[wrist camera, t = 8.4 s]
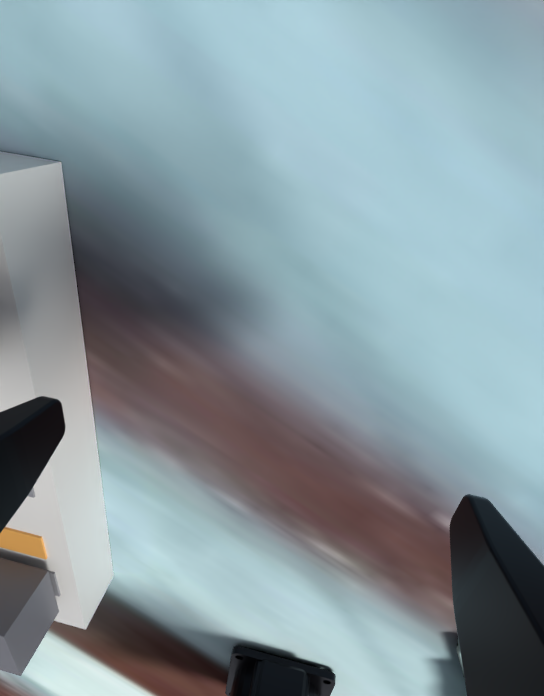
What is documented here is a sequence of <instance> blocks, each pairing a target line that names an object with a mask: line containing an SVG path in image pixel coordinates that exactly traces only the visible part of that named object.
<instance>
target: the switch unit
mask: <svg viewBox="0 0 544 696" xmlns="http://www.w3.org/2000/svg"><path fill="white" fill-rule="evenodd" d="M40 396H46V397H50V398H55V399H58V400H59V401H60V402H61V403H62V408H63V414H64V420H65V426H66V427H65V433H64V436H63V438H62V440H61V441H60V443H59V445H58V446H57V448H56V450H55V451H54V453H53V455H52V456H51V458H50V460H49V461H48V463H47V465H46V467H45V468H44V470H43V472H42V473H41V475H40V477H39V478H38V480H37V482H36V483H35V485H34V487H33V488H32V490H31V491H30V493H29V495H28V496H27V497H26V499H25V500H24V502H23V503H22V505H21V506H20V507H19V509H18V510H17V511H16V513H15V514H14V515H13V517H12V518H11V519H10V521H9V522H8V524H7V525H6V526H5V528H4V529H3V530H2V532H1V533H0V558H3V559H7V560H10V561H14V562H18V563H21V564H25V565H29V566H32V567H36V568H40V569H43V570H47V571H48V572H49V576H50V579H51V583H52V587H53V591H54V594H55V598H56V602H57V605H58V609H59V613H58V614H57V616H56V618H55V619H54V621H57V622H61V623H64V624H68V625H71V626H75V627H78V628H82V629H85V630H86V628H87V626H88V624H89V622H90V621H91V619H92V617H93V615H94V613H95V611H96V609H97V607H98V605H99V603H100V602H101V600H102V598H103V596H104V594H105V592H106V590H107V588H108V586H109V584H110V583H111V581H112V579H113V577H114V573H113V565H112V557H111V550H110V542H109V534H108V526H107V518H106V510H105V502H104V495H103V487H102V479H101V471H100V463H99V455H98V447H97V439H96V432H95V424H94V416H93V408H92V400H91V392H90V384H89V377H88V369H87V361H86V353H85V345H84V337H83V329H82V322H81V314H80V306H79V298H78V290H77V282H76V274H75V267H74V259H73V251H72V243H71V235H70V227H69V219H68V212H67V204H66V196H65V188H64V180H63V172H62V164H61V162H59V161H54V160H48V159H42V158H36V157H30V156H25V155H19V154H13V153H7V152H2V151H0V412H2V411H5V410H7V409H9V408H12V407H14V406H17V405H19V404H22V403H24V402H27V401H29V400H32V399H34V398H37V397H40Z"/></svg>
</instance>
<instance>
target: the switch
mask: <svg viewBox="0 0 544 696" xmlns="http://www.w3.org/2000/svg"><path fill="white" fill-rule="evenodd" d="M58 613H59V609H58V605H57V602H56V598H55V594H54V591H53V587H52V583H51V579H50V576H49V572H48V571H47V570H43V569H40V568H36V567H32V566H29V565H25V564H21V563H18V562H14V561H10V560H7V559H3V558H0V670H3V671H6V672H9V673H13V674H16V675H19V676H21V675H22V673H23V671H24V670H25V668H26V666H27V665H28V663H29V661H30V659H31V658H32V656H33V654H34V653H35V651H36V649H37V648H38V646H39V644H40V643H41V641H42V639H43V638H44V636H45V634H46V633H47V631H48V629H49V628H50V626H51V624H52V623H53V621H54V619H55V618H56V616H57V614H58Z"/></svg>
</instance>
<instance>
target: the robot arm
mask: <svg viewBox="0 0 544 696" xmlns="http://www.w3.org/2000/svg"><path fill="white" fill-rule="evenodd" d="M65 427H66V426H65V420H64V414H63V408H62V403H61V402H60V401H59V400H58V399H55V398H50V397H46V396H40V397H37V398H34V399H32V400H29V401H27V402H24V403H22V404H19V405H17V406H14V407H12V408H9V409H7V410H5V411H2V412H0V533H1V532H2V530H3V529H4V528H5V526H6V525H7V524H8V522H9V521H10V519H11V518H12V517H13V515H14V514H15V513H16V511H17V510H18V509H19V507H20V506H21V505H22V503H23V502H24V500H25V499H26V497H27V496H28V495H29V493H30V491H31V490H32V488H33V487H34V485H35V483H36V482H37V480H38V478H39V477H40V475H41V473H42V472H43V470H44V468H45V467H46V465H47V463H48V461H49V460H50V458H51V456H52V455H53V453H54V451H55V450H56V448H57V446H58V445H59V443H60V441H61V440H62V438H63V436H64V433H65ZM450 548H451V570H452V592H453V605H454V613H455V620H456V626H457V633H458V639H459V645H460V652H461V658H462V665H463V671H464V678H465V684H466V690H467V696H544V565H543V564H542V563H541V562H540V560H539V559H538V558H537V557H536V556H535V555H534V553H533V552H532V551H531V550H530V549H529V547H528V546H527V545H526V544H525V543H524V541H523V540H522V539H521V538H520V537H519V535H518V534H517V533H516V532H515V531H514V529H513V528H512V527H511V526H510V525H509V524H508V522H507V521H506V520H505V519H504V518H503V516H502V515H501V514H500V513H499V512H498V510H497V509H496V508H495V507H494V506H493V504H492V503H491V502H490V501H489V500H488V499H486V498H483V497H479V496H475V495H470V494H467V495H465V496H464V497H463V499H462V500H461V502H460V504H459V506H458V508H457V509H456V511H455V513H454V515H453V517H452V519H451V522H450ZM334 686H335V674H334V673H332V672H330V671H327V670H324V669H320V668H316V667H313V666H309V665H305V664H302V663H298V662H295V661H291V660H287V659H284V658H280V657H277V656H273V655H269V654H266V653H262V652H259V651H255V650H251V649H248V648H244V647H240V646H235V647H234V648H233V651H232V655H231V661H230V667H229V673H228V680H227V686H226V692H225V693H226V695H228V696H330V694H331V692H332V690H333V688H334Z"/></svg>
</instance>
